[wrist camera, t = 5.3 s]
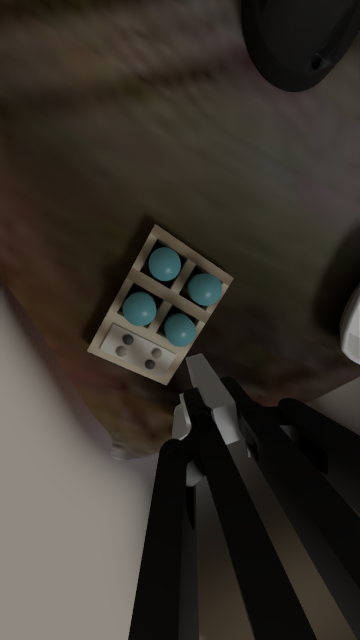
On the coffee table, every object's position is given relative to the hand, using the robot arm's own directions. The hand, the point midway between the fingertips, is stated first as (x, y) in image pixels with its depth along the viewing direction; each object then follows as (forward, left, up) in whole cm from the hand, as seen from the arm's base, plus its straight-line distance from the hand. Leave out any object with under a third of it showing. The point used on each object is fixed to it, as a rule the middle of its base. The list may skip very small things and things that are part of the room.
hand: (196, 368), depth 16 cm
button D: (0, 0, -13) cm, 13 cm away
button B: (-7, 0, -13) cm, 15 cm away
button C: (0, -6, -13) cm, 15 cm away
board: (-1, -3, -15) cm, 15 cm away
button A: (-7, -6, -15) cm, 17 cm away
